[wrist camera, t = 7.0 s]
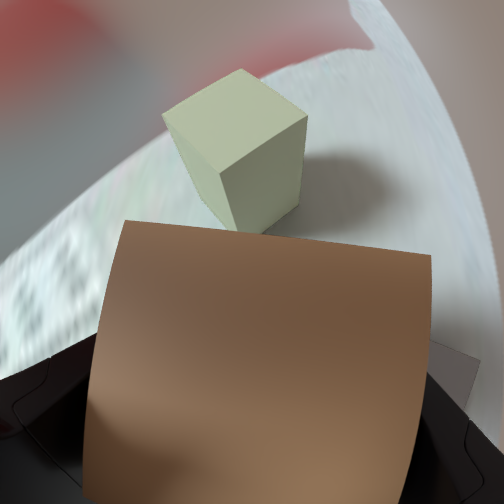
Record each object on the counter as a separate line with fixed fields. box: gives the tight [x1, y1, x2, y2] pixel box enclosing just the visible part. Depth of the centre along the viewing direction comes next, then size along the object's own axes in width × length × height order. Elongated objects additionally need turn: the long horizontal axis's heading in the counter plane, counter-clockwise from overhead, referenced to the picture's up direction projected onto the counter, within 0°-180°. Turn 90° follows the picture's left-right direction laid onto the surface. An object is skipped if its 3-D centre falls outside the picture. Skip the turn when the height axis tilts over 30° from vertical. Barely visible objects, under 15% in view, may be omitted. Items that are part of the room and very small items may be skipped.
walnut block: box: [83, 220, 432, 504], centre depth 9 cm, size 6×6×10 cm
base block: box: [427, 340, 480, 410], centre depth 17 cm, size 8×8×3 cm
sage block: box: [162, 68, 308, 234], centre depth 20 cm, size 6×6×10 cm
